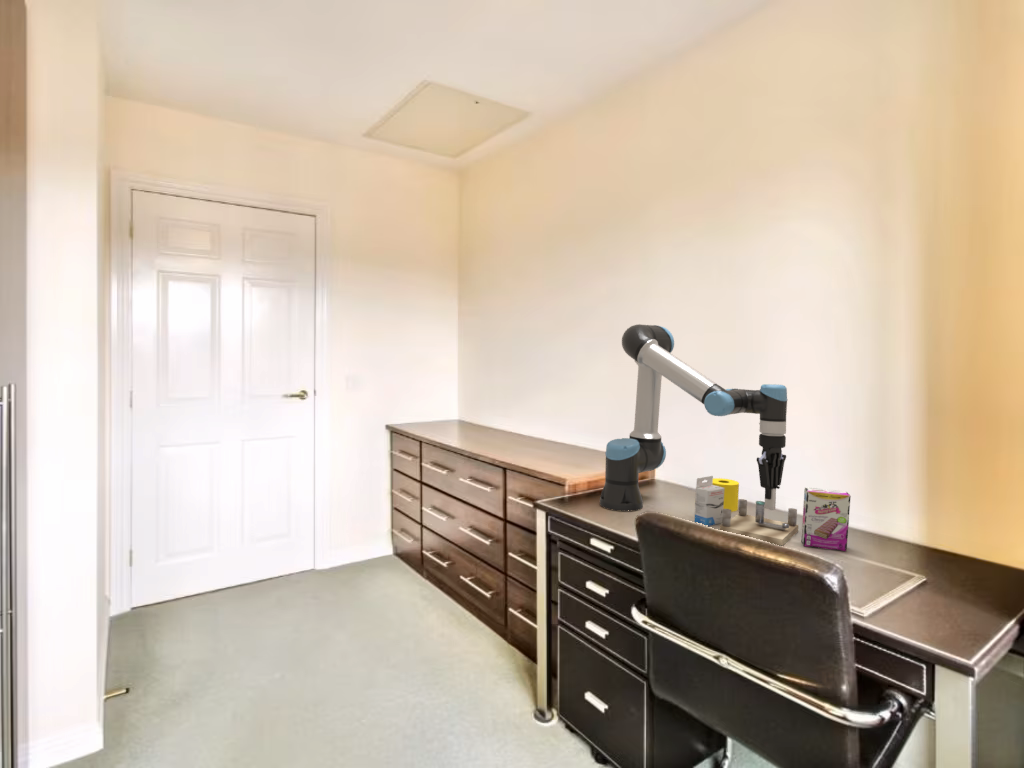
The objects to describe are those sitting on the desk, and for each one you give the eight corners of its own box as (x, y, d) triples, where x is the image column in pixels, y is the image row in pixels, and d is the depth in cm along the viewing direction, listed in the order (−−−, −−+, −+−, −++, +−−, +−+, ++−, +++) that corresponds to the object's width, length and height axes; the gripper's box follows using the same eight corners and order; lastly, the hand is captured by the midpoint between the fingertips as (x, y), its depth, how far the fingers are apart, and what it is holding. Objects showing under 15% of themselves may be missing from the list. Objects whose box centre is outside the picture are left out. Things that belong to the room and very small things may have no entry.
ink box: (706, 527, 177) (708, 481, 176) (693, 523, 181) (695, 478, 180) (723, 522, 181) (725, 478, 180) (710, 518, 186) (712, 475, 185)
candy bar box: (803, 547, 160) (806, 490, 159) (800, 541, 165) (803, 486, 164) (848, 552, 156) (851, 494, 155) (843, 546, 161) (847, 490, 160)
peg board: (719, 532, 172) (720, 509, 171) (739, 519, 186) (739, 498, 185) (782, 546, 160) (783, 522, 160) (798, 531, 174) (799, 509, 174)
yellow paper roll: (738, 513, 193) (739, 486, 192) (708, 510, 196) (709, 483, 195) (736, 505, 202) (737, 479, 202) (707, 502, 205) (708, 477, 205)
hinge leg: (789, 528, 168) (790, 506, 168) (787, 530, 166) (788, 508, 166) (756, 522, 175) (757, 500, 174) (753, 523, 173) (754, 502, 172)
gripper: (772, 431, 180) (770, 503, 181) (749, 434, 173) (746, 509, 174) (795, 433, 174) (792, 508, 175) (772, 437, 167) (769, 515, 168)
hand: (769, 508), depth 175 cm, fingers closed
